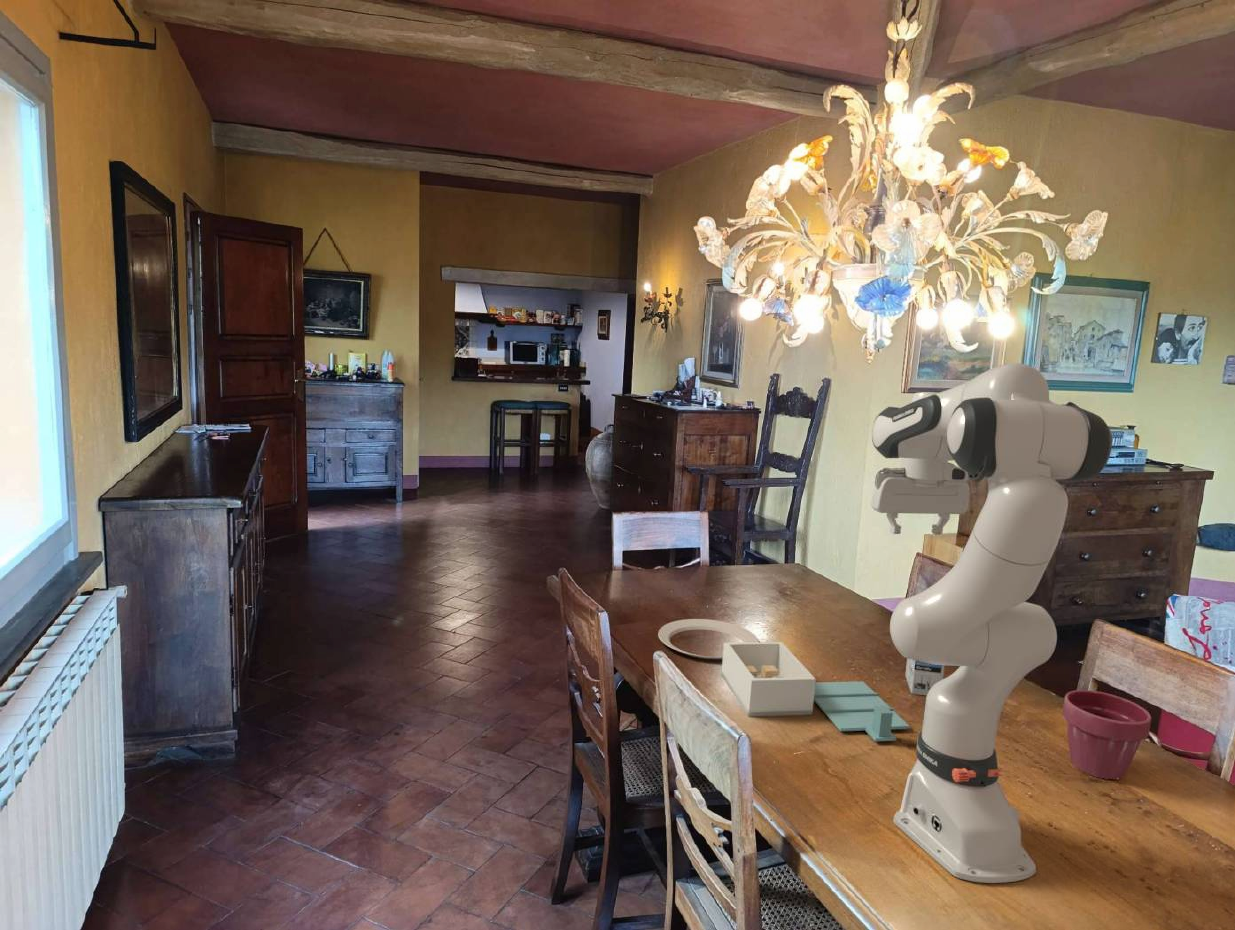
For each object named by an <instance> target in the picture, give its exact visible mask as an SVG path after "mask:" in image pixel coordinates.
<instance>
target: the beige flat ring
mask: <svg viewBox="0 0 1235 930" xmlns="http://www.w3.org/2000/svg"><path fill="white" fill-rule="evenodd" d="M690 630H691V631H694V630H706V631H714V632H720V633H723V634H727V635H731V636H733V637H735V638H737V639H739V640H740V641H742V643H747V642H759V639H758V637H757V636H756V635H755V634H754V633H753V632H752V631H750V630H749V629H746V628H744V627H742V626H740V625H738V624H734V623H732V622H731V623H730V622H726V621H722V620H715V619H705V618H687V619H679V620H674V621H671V622H668V623H666V624H664V625H663V626H661V627H660V629H658V634H657V636H658V638H659V640H660V641H661V643H663V644H665V645H666V646H667V647H669V648H671V649H673V650H675V651H677V652H679V653H682V654H683V655H686V656H690V657H693V658H699V659H704V660H723V656H708V655H707V656H706V655H700V654H694V653H690V652H688V651H685V650H682V649H680V648H678V647H676V646H675V645H673V644H672V643H671V638H672V637H673V636H674V635H676V634H678V633H681V632H686V631H690Z"/></svg>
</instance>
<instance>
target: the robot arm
mask: <svg viewBox="0 0 1235 930" xmlns="http://www.w3.org/2000/svg"><path fill="white" fill-rule="evenodd" d="M1112 436H1113V435H1112V432H1111V429H1110V427H1109V426H1108V424H1107V423H1106V421H1105V420H1104V419H1103V418H1102V417H1101V416H1100V415H1098V414H1095V413H1093V412H1092V411H1089V410H1087V409H1084V408H1082V407H1080V406H1078V405H1077V404H1076V403H1073V402H1072V401H1069V402H1067V403H1066V404H1058V403H1055V402H1053V401H1051V400H1050V388H1049V384H1048V382H1047V380H1046V378H1045V376H1044V375H1043V374H1042V372H1040V371H1039V370H1038V369H1036V368H1035V367H1033V366H1031V365H1028V364H1024V363H1018V362H1016V363H1015V362H1013V363H1007V364H1002V365H998V366H995V367H993V368H990V369H988V370H986V371H984V372H981V373H980V374H978V375H976V376H974V378H972V379H970V380H968V381H965V382H963V383H961V384H959V385H955V386H954V387H951V388H949V389H946V390H921V391H917V392H914V394H913V395H912V398H911V401H910V403H908V404H905V405H904V406H901V407H896V406H895V407H894V406H887V407H886V408H885V409H883V410H881V412H879V414H877V416H876V417H875V419H874V421H873V424H872V431H871V439H872V445H873V447H874V449H876V451H877V452H878V453H879V454H880V455H882V457H884V458H885V459H900V458H901V459H902V460H901V467H893V468H890V467H883V468H882V469H880V470H879V471H878V472H876V474H875V480H874V488H873V492H872V496H871V502H870V505H871V508H872V509H873V510H874V511H876V512H878V513H880V514H886V517H887V520H888V522H889V524H890V527H889V532H890V534H893V535H900V534H901V533H902V532H901V530H902V526H901V525H900V524H898V523H897V521H896V519H898V517H899V514H917V515H918V514H920V515H921V514H925V515H926V514H929V515H932V514H933V515H937V517H939V519H937V522H936V523H935V524H932V525H931V528H932V529H931V533H932V535H942V534H943V531H944V527H945V526H946V525H947V523H948V522H949V520H950V519H951V517H950V516H951V515H964V514H965V513H966V512H967V511H968V510H969V504H970V485H969V484H968V482H967V481H968V480H970V481H971V482H973V483H979V482H981V481H982V480H984V479H985V478H986V480H987V484H988V485H987V486H988V490H987V492H988V493H987V496H986V500H985V502H984V505H983V506H982V508H981V510H980V512H979V514H978V517H977V519H976V521H975V523H974V526H973V528H972V531H971V533H970V536H969V538H968V540H967V542H966V545H964V546H965V547H964V549H963V551H962V553H961V555H960V557H959V559H958V561H956V563H955V564H954V566H953V567H952V568H951V569H950V570H949V571H948V572H947V573H946V574H944V576H943V577H942V578H940V579H939V580H938V581H937V582H935V583H933V584H932V585H931V586H929V587H928V588H927V589H925V590H922V591H921V592H919V593H917V594H915V595H911V596H909V597H907V598H904V599H902V600H900V601H899V603H898V604H897V605H896V607H895V608H894V610H893V611H892V615H891V616H890V623H889V633H890V638H891V640H892V642H893V644H894V646H895V649H897V651H898V652H899V653H900V655H901V656H902V657H904V658H906V659H907V658H908V659H912V660H916V661H919V662H924V663H928V664H932V665H945V666H952V667H953V666H957V667H958V668H957V669H956V670H955V671H954V672H953V673H951V674H950V675H948V676H946V677H945V678H943V680H941V681H939V682H937V683H936V684H934V685H933V686H932V687H931V689H930V690H929V692H928V694H927V696H925V697H926V698H925V705H924V714H923V721H922V727H921V728H922V729H921V731H920V732H919V734H918V738H917V741H916V751H915V752H916V753H915V756H916V758H917V759H916V761H915V764H914V765H913V767H912V769H911V770H910V772H909V774H908V775H907V780H906V784H905V787H904V793H903V797H902V801H901V806H900V808H899V810H898V811H896V813H894V814H893V820H892V822H893V824H894V825H895V826H897V828H899V829H900V830H901V831H902V832H903V833H905V834H906V835H907V836H908V837H909V838H910V839H911V840H913V842H915V843H916V844H917V845H918V846H919V847H921V848H922V849H923V851H925V852H926V853H927V854H928V855H929V856H930V857H932V859H934V860H935V861H936V862H937V863H938V864H939V865H941V866H942V867H943V868H944V869H945V870H946V871H947V872H949V873H950V874H951V875H953V876H954V877H955V878H958V879H961V880H965V881H969V882H976V883H983V884H984V883H985V884H997V883H999V884H1000V883H1012V882H1017V881H1018V882H1019V881H1023V880H1026V879H1029V878H1031V877H1033V875H1035V874H1036V872H1037V868H1036V867H1037V866H1036V863H1035V862H1034V860H1033V859H1032V858H1031V857H1030V855H1029V854H1028V852H1027V851H1026V850H1025V848H1024V847H1023V846H1022V831H1021V830H1022V829H1021V826H1020V824H1019V823H1020V821H1021V816H1020V815H1021V814H1020V812H1019V809H1018V808H1017V807H1011V805H1010V803H1009V801H1008V798H1007V797H1006V794H1005V791H1004V789H1003V788H1002V787H1001V784H1000V782H999V777H1003V774H1001V773H1002V772H1003V771H1004V770H1003V769H1001V768H1000V769H999V767H998V764H999V762H998V761H999V760H998V758H997V751H996V749H995V743H996V738H997V731H998V727H999V723H1000V718H1001V714H1002V711H1003V707H1004V706H1005V704H1006V701H1007V699H1008V698H1009V696H1010V694H1011V693H1012V692H1013V690H1014V689H1015V687H1016V686H1017V685H1018V683H1020V681H1021V680H1022V679H1023V678H1024V677H1025V676H1027V675H1028V674H1029V673H1030V672H1032V671H1033V670H1035V669H1036V668H1037V667H1040V666H1042V665H1043V664H1045V663H1047V662H1048V661H1049V660H1050V658H1051V657H1052V655H1053V654H1054V652H1055V649H1056V646H1057V641H1058V634H1057V628H1056V625H1055V621H1054V620H1053V619H1052V617H1051V615H1050V614H1049V612H1048V611H1047V610H1046V609H1045V608H1044V607H1042V606H1041V605H1039V604H1035V603H1030V602H1028V601H1027V600H1029V599H1030V598H1031V596H1033V594H1034V593H1035V591H1036V590H1037V588H1038V586H1039V584H1040V582H1041V579H1042V578H1043V575H1044V574H1045V571H1046V569H1047V568H1048V565H1049V563H1050V561H1051V559H1052V558H1053V555H1054V553H1055V550H1056V549H1057V546H1058V544H1059V540H1060V538H1061V535H1062V532H1063V529H1064V526H1065V521H1066V518H1067V513H1068V505H1069V500H1068V499H1069V498H1068V495H1067V492H1066V491H1065V489H1064V488H1063V486H1062V485H1061V484H1060V483H1059V482H1058V481H1057V480H1062V481H1063V482H1081V481H1088V480H1092V479H1094V478H1095V477H1097V476H1098V475H1099V474H1100V473H1101V472H1102V471H1103V470H1104V468H1105V467H1106V465H1107V464H1108V462H1109V459H1110V456H1111V454H1112V453H1111V452H1112V447H1113V438H1112ZM950 461H951V462H953V461H954V462H955V463H956V464H957V465H955V464H954V463H951V462H950Z"/></svg>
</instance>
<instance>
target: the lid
mask: <svg viewBox="0 0 1235 930" xmlns="http://www.w3.org/2000/svg"><path fill="white" fill-rule="evenodd" d="M814 703H815V704H816V705H817V706H818V707H819V708H820V709H821V710H822V711H823V713H824V714H825V715H826V716H827V717H828V719H829V720H830V721H831V722H832V723H833V724H834V725H835V727H836V728H837V729H838V730H839V731H840V732H854V731H865V732H866V733H867V734H868V735H869V736H870V737H871V739H873V740H874V742H887V741H888V742H892V741H893V742H895V741H897V737H896V736H895V734H893V733H892V730H909V729H910V728H911V727H910V725H909V724H908V723H907V722H906V721H905V720H904V719H903V717H901V716H900V715H899V714H898V713H897V712H896V711H895V710H894V707H892V706H889V705H888V703H886V702H885V700H883V699H882V698H881V697H880V696H879V692H875V691H874V690H872V688H870V687H869V685H867V684H866V682H864V681H863V680H862V681H861V680H860V681H831V682H830V681H826V682H825V681H822V682H815V692H814Z"/></svg>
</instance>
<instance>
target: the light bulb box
mask: <svg viewBox="0 0 1235 930" xmlns="http://www.w3.org/2000/svg"><path fill="white" fill-rule="evenodd" d="M945 667H946V665H932V664H928V663H924V662H919V661H916V660H912V659H908V658H906V667H905V674H904V677H905V680H906V682H907V685H908V688H909V691H910V693H911V694H912V695H918V696H919V695H920V696H925V697H927V694H928V692H929V690H930V689H931V687H932V686H933V685H934V684H936V683H937V682H939V681H941V680H943V679H944V675H945Z"/></svg>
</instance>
